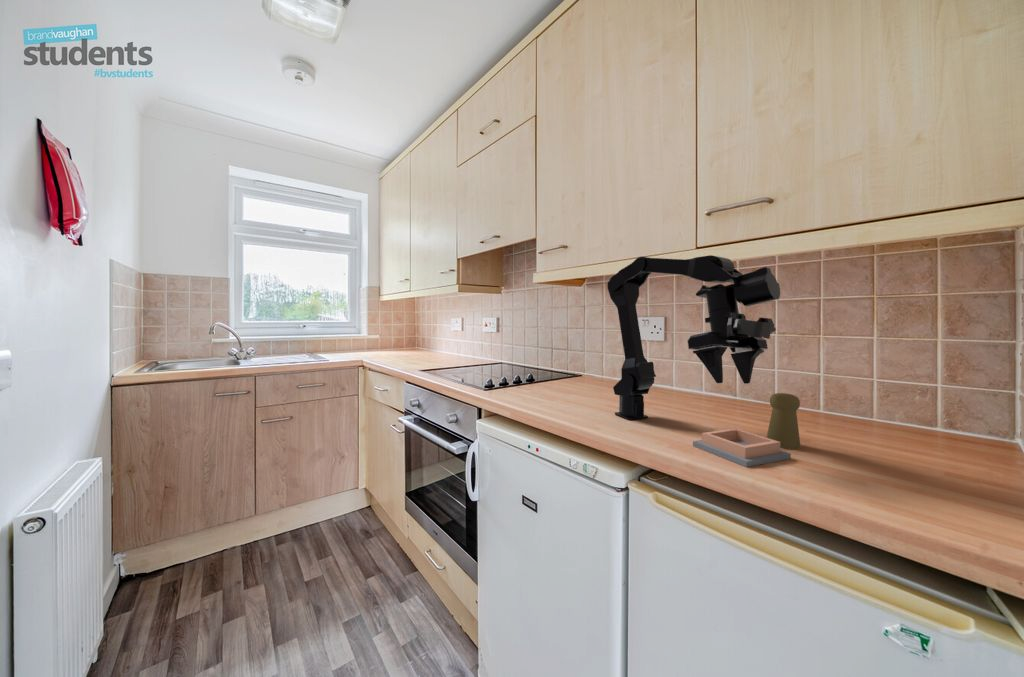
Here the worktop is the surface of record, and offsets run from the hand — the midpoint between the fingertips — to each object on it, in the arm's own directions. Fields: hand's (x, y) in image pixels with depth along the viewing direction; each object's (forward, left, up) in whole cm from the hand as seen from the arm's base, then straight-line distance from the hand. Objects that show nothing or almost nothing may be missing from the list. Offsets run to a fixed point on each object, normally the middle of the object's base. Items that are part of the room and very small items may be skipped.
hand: (733, 383), depth 77 cm
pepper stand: (+3, -2, -13) cm, 14 cm away
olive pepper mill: (+3, +11, -14) cm, 18 cm away
